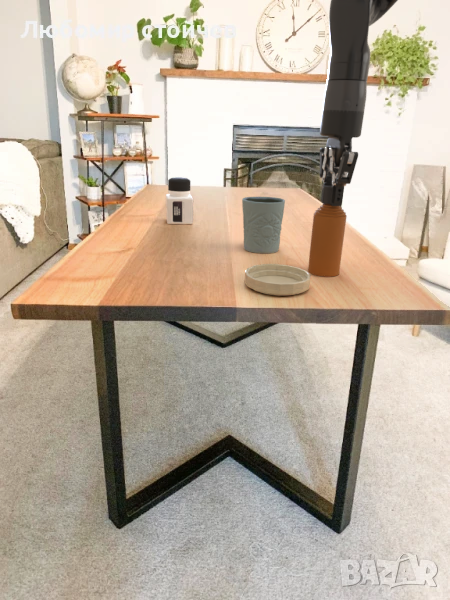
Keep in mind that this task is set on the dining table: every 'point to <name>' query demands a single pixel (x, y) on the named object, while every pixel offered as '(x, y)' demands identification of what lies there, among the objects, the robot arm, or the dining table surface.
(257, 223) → the grey blue embossed cup
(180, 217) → the container
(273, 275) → the dish
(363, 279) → the dining table surface
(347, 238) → the dining table surface
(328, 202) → the cap
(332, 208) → the bottle
